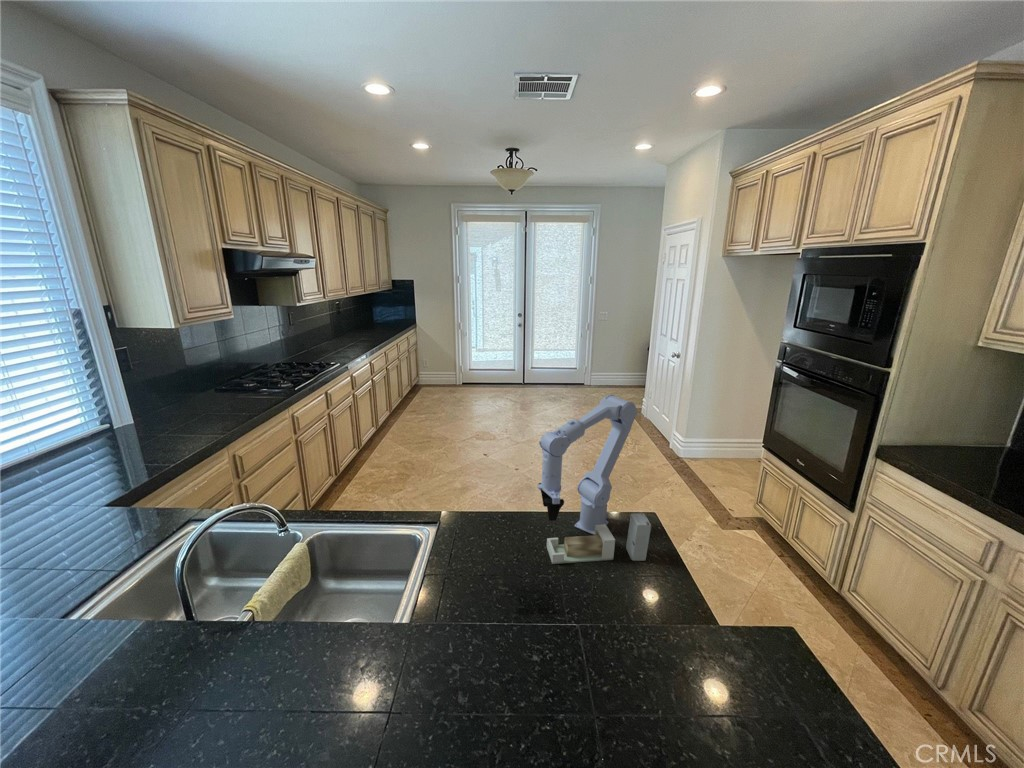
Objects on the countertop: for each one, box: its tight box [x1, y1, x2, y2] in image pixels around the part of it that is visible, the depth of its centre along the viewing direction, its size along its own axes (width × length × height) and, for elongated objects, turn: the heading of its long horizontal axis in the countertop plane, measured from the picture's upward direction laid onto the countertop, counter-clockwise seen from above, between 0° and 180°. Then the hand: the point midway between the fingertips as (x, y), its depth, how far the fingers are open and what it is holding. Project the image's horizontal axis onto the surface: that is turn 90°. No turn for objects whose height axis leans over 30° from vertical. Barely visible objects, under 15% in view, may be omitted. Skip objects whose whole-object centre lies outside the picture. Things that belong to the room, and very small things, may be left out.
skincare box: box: [625, 512, 652, 562], centre depth 117 cm, size 6×4×12 cm
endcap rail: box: [546, 524, 616, 565], centre depth 118 cm, size 18×8×7 cm, turn 98°
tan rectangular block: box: [564, 534, 603, 557], centre depth 118 cm, size 12×4×4 cm, turn 98°
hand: (549, 512), depth 122 cm, fingers open, 7 cm apart
